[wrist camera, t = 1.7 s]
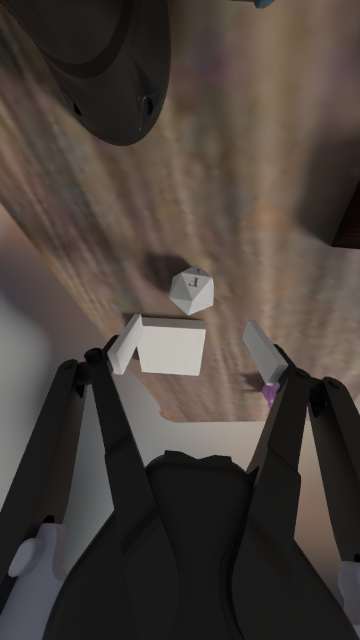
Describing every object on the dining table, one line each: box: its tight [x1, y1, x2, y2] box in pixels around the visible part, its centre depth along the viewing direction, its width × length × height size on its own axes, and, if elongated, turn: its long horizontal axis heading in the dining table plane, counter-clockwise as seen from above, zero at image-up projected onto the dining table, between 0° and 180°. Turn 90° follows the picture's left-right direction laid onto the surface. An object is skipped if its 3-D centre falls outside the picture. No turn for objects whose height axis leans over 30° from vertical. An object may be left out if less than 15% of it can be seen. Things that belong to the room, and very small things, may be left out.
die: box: [169, 265, 214, 315], centre depth 27 cm, size 8×9×10 cm
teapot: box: [262, 382, 308, 409], centre depth 45 cm, size 15×14×10 cm
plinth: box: [137, 317, 206, 376], centre depth 40 cm, size 18×18×4 cm
